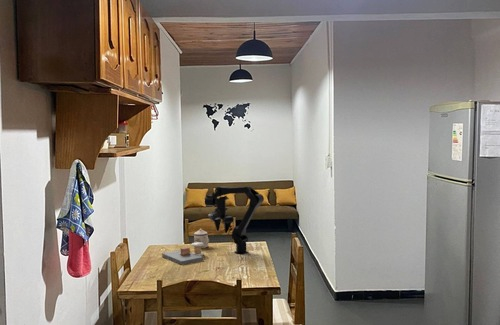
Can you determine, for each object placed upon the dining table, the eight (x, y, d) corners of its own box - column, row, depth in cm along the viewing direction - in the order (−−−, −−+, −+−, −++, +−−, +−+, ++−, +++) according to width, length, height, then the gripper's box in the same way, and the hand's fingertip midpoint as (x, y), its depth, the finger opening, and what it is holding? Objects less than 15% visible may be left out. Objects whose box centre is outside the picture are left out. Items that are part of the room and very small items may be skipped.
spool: (205, 255, 281) (205, 243, 281) (195, 257, 277) (195, 245, 277) (199, 253, 287) (199, 241, 287) (189, 254, 283) (189, 243, 282)
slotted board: (203, 260, 269) (203, 257, 269) (181, 264, 261) (181, 261, 261) (183, 252, 288) (183, 249, 288) (162, 256, 280) (162, 253, 280)
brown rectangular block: (190, 257, 276) (189, 247, 276) (183, 259, 273) (182, 249, 273) (187, 256, 278) (187, 246, 278) (180, 258, 276) (180, 248, 275)
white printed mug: (191, 247, 304) (190, 229, 303) (202, 244, 310) (201, 227, 309) (203, 249, 295) (202, 231, 295) (214, 247, 302) (213, 229, 301)
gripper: (202, 206, 293) (202, 231, 293) (218, 209, 278) (219, 235, 278) (217, 204, 299) (217, 228, 300) (233, 207, 284) (234, 233, 285)
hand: (221, 231), depth 291 cm, fingers open, 9 cm apart
